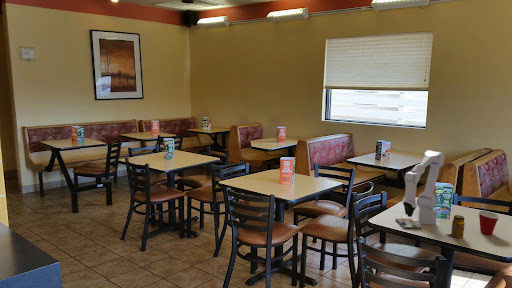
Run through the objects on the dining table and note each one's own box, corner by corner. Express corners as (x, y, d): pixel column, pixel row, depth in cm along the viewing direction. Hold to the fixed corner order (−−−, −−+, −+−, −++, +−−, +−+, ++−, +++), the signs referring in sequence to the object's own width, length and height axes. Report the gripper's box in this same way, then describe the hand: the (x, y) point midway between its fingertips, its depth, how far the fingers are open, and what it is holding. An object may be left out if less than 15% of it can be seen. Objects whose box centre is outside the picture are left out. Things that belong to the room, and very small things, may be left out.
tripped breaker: (404, 220, 238) (404, 216, 237) (405, 222, 235) (406, 218, 234) (400, 220, 238) (401, 216, 237) (402, 222, 235) (402, 218, 234)
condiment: (466, 239, 217) (468, 218, 215) (452, 239, 216) (454, 219, 214) (458, 234, 224) (460, 214, 222) (444, 234, 223) (446, 214, 221)
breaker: (414, 223, 234) (415, 219, 233) (416, 225, 231) (417, 220, 230) (411, 223, 234) (411, 218, 233) (413, 225, 231) (413, 220, 230)
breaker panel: (411, 220, 244) (412, 218, 243) (421, 229, 230) (421, 226, 230) (395, 220, 244) (395, 218, 243) (403, 229, 230) (404, 226, 230)
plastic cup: (497, 238, 218) (500, 218, 216) (475, 234, 224) (477, 214, 222) (497, 232, 228) (500, 212, 226) (476, 228, 233) (478, 209, 231)
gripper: (399, 189, 233) (397, 211, 236) (408, 196, 219) (406, 219, 221) (411, 189, 233) (409, 211, 236) (421, 196, 219) (418, 220, 221)
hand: (408, 215), depth 228 cm, fingers open, 3 cm apart
